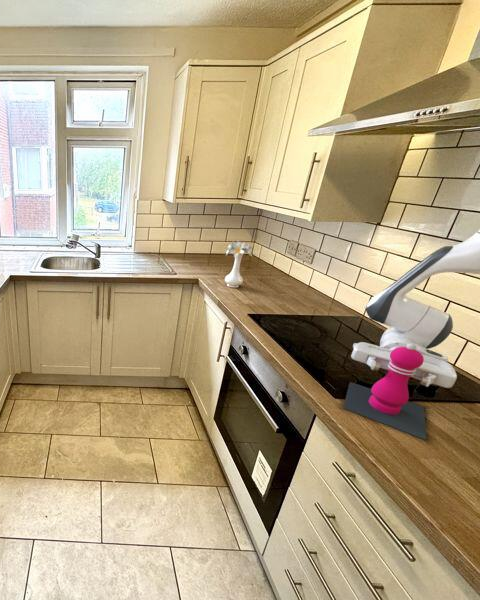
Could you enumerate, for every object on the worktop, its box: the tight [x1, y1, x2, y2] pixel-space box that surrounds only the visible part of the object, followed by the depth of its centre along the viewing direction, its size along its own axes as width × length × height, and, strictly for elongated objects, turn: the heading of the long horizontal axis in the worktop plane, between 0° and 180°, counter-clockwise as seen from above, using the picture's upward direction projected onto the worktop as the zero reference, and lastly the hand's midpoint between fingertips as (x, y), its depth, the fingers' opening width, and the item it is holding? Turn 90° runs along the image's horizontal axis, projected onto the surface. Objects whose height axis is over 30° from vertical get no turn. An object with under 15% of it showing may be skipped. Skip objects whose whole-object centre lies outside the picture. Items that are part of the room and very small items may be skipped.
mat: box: [342, 381, 428, 441], centre depth 86 cm, size 16×16×1 cm
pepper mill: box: [369, 343, 424, 415], centre depth 83 cm, size 7×7×20 cm
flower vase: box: [224, 240, 253, 289], centre depth 173 cm, size 13×18×25 cm
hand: (399, 375), depth 81 cm, fingers open, 8 cm apart
